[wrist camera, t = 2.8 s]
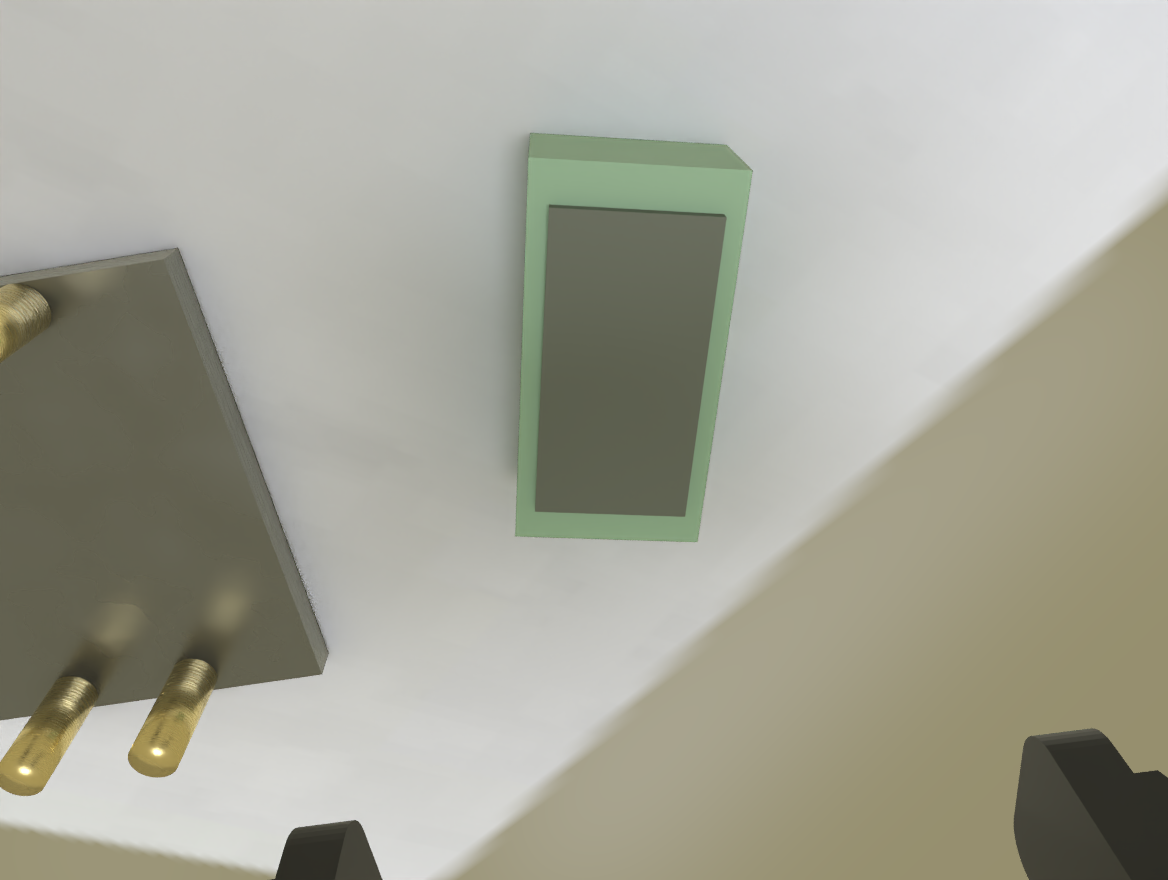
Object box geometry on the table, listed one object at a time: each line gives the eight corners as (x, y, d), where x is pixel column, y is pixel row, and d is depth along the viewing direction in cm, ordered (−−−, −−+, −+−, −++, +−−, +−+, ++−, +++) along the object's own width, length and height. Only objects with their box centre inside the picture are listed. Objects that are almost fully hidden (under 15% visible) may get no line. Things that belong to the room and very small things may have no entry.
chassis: (-260, 318, 24) (-420, 389, 20) (177, 248, 23) (103, 305, 19) (-17, 703, 30) (-101, 813, 26) (328, 653, 30) (295, 758, 26)
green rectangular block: (530, 131, 23) (528, 160, 19) (724, 143, 23) (755, 173, 20) (518, 471, 27) (514, 542, 24) (680, 477, 28) (699, 548, 24)
